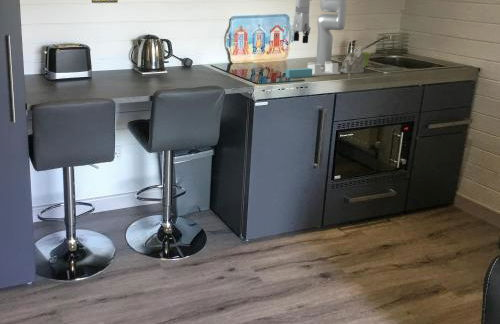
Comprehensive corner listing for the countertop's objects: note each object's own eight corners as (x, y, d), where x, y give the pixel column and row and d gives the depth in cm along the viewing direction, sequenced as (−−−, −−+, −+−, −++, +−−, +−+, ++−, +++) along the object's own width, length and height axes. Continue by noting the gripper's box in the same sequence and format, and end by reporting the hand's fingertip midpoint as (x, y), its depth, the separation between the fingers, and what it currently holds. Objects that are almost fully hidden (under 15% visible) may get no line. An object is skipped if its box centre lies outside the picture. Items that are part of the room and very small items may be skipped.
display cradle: (304, 72, 339) (305, 62, 337) (330, 71, 347) (331, 61, 345) (313, 75, 331) (314, 65, 329) (340, 73, 338) (340, 63, 336)
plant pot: (351, 65, 368) (352, 52, 365) (364, 65, 371) (365, 51, 368) (359, 68, 360) (360, 54, 357) (372, 67, 363) (373, 53, 360)
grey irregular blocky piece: (354, 67, 360) (355, 43, 354) (368, 73, 345) (369, 48, 340) (332, 70, 355) (333, 46, 349) (345, 76, 340) (346, 50, 335)
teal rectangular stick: (285, 77, 325) (285, 69, 324) (308, 75, 331) (308, 67, 330) (289, 78, 322) (289, 70, 320) (312, 76, 328) (312, 69, 326)
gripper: (288, 9, 320) (287, 40, 326) (304, 11, 306) (302, 44, 311) (300, 9, 324) (298, 40, 329) (316, 11, 309) (314, 43, 314)
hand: (300, 41), depth 320 cm, fingers open, 9 cm apart
